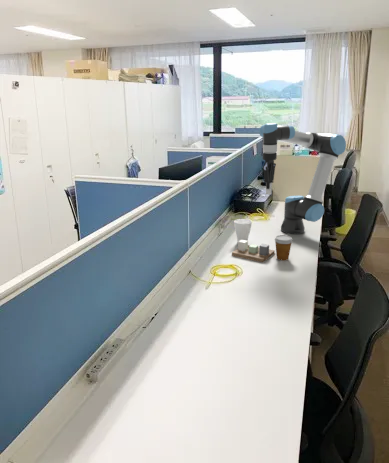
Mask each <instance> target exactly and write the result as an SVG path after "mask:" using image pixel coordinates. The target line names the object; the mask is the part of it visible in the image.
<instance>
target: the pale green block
mask: <svg viewBox="0 0 389 463" xmlns="http://www.w3.org/2000/svg"><path fill="white" fill-rule="evenodd" d="M258 247H259V244H252V243H251V244H250V246H249V252H250V253H255V254H256V253H257V252H258Z"/></svg>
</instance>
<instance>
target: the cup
mask: <svg viewBox="0 0 389 463" xmlns="http://www.w3.org/2000/svg"><path fill="white" fill-rule="evenodd" d="M233 222H234V223H233V225H234V231H235V235H236V242H237V244H238V242H239V241H240V240H246V241H248V242H249V235H250V232H251V228H252V223H253V222H252V220H251V219H246V218H238V219H235V220H233Z"/></svg>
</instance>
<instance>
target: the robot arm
mask: <svg viewBox="0 0 389 463" xmlns="http://www.w3.org/2000/svg"><path fill="white" fill-rule="evenodd" d="M258 131H259V136H260V138H262V152H263V153H262V160H263V161H264V166H262V171H263V181H264V182H263V183H265V195H272V188H273V187H272V186H273V183H274V182H275V181H274V180H275V173H276V172H275V171H276V165H277V164H276V163H275V161H276V160H277V157H278V156H277V155H278V154H277V151H278V141H280V142H285V143H289V144H295V145H298V146H302V147H303V148H306V149H308V150H312V151H314V152H318V155H319V159H318V163H317V165H316V167H315V168H316V169H315V171H314V175H313V178H312V181H311V184H310V187H309V190H308V193H307V195H305V196H304V195H289V196H287V197H285V200H284V216H283V221H282V224H281V226H280V231H281V232H283V233H285V234H289V235H298V234H303V233H304V232H305V224H304V220H305V221H308V222H312V223H315V222H318V221H319V220H321V218H323V215H324V214H325V207H324V205H323V199H322V198H323V195H324V192H325V190H326V187H327V184H328V180H329V177H330V174H331V171H332V169H333V165H334V162H335V161H336V160H337V159H338V158H339V156H340V155H342V154H344V153H345V151H346V148H347V141H346V139H345V137H344V135H342V134H339V133H338V134H337V133H328V132H327V133H324V132H310V131H307V132H302V131H298V130H296V129H295V127H294V126H293V125H278V123H277V122H268V123H264V124H262V125H261V126H260V127H259V130H258Z"/></svg>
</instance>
